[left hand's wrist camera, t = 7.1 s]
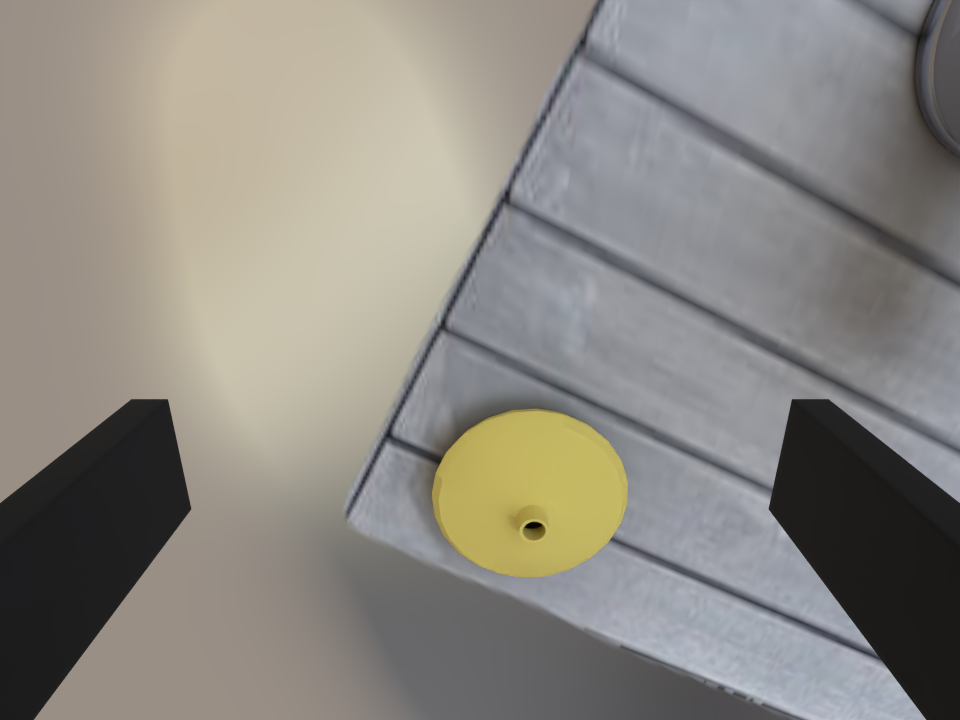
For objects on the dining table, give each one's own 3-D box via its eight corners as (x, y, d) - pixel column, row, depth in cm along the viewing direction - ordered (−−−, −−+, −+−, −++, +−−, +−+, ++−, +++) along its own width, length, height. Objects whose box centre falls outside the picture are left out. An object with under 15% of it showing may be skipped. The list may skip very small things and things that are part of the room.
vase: (575, 362, 47) (590, 401, 40) (647, 512, 52) (672, 568, 45) (400, 442, 49) (388, 491, 43) (485, 577, 55) (486, 639, 48)
